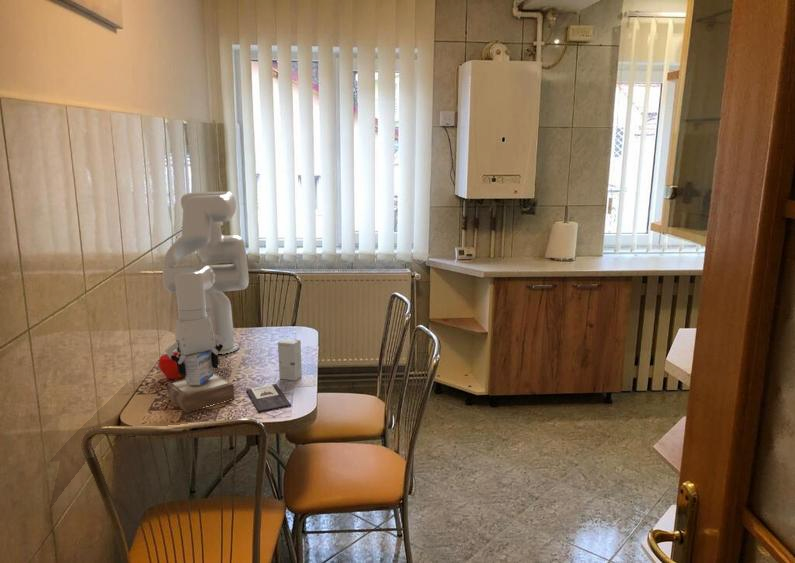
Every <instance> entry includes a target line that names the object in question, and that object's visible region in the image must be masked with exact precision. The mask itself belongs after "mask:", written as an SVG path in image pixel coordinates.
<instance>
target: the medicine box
mask: <svg viewBox="0 0 795 563" xmlns="http://www.w3.org/2000/svg"><path fill="white" fill-rule="evenodd" d="M183 362H184V364H185V371H186V376H185V377H184V378H185V379H186V384H187V385H201V384H203V383H204V382H205V381H207V380H208V379H209V378H211V377H212V376H213V372H214V368H213V367H212V359H211V350H209V351H205V352H201V353H196V354H192V355H187V356H186V357H185V359H184V361H183Z"/></svg>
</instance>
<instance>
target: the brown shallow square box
mask: <svg viewBox="0 0 795 563" xmlns="http://www.w3.org/2000/svg"><path fill="white" fill-rule="evenodd" d="M234 388H235V387H234V383H232V382H230V381H229V380H228V379H226V378H224V377H223V376H220V375H219V374H217V373H216V372H214V371H213V376H212V377H211V378H209V379H208V380H207V381H205V382H204V383H203V384H201V385H187V384H186V378H185V379H182V380H178V381H173V382H169V383H167V391H168V399H169V401H171V402H172V403H174V405H176V406H177V407H178V408H179V409H181V410H182V409H183V410H184V411H183V410H182V411H183V412H185V413H186V412H187V413H186V414H189V413H188V412H190V413H192V412H191V411H194V410H197V409H200V408H203V407H206V406H210V405H213V404H217V403H221V402H224V401H227V400H230V399H234V398H235V389H234ZM234 400H235V399H234ZM224 403H225V402H224ZM221 404H222V403H221ZM217 405H218V404H217ZM197 411H198V410H197ZM194 412H195V411H194Z"/></svg>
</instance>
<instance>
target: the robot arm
mask: <svg viewBox="0 0 795 563" xmlns="http://www.w3.org/2000/svg"><path fill="white" fill-rule="evenodd" d="M180 204H181V205H180V206H181V208H182V224H181V235H180V237H179V238H178V239H177V240H176V241H175V242H174V243H172V244H171V246H170V247H169V249H168V250H167V251H166V253H165V255H164V258H163V266H162V284H163V287H164V289H165V291H167V292H170V293H175V295H176V302H177V311H178V319H176V320H175V331H174V332H175V333H174V334H175V335H174V336H175V339H174V340H175V342H173V343H172V344H171V345H169V347H168V348H166V349H165V351H164V352H165V353H166V354H167V355H168V356H169V357H170V358H171V359H172V360H174V361H175V362H177V369H178V374H180V375H181V376H183V377H182V378H185V376H186V371H185V364H184V363H183V361H184V359H185V357H186V356H187V355H192V354H196V353H201V352H205V351H209V350H211V359H212V368H213V369H215V370H216V369H218V368H219V367H218V366H219V364H220V363H219V355H218V354H222V355H227V354H226V353H228V354H231V353H230V352H232V353H234V352H233V351H235V350H237V349H238V348H239V349H240V345H239V343H237V342H235V335H234V324H233V312H232V304H231V300H230V299H229V297H228V296H227V295H226V294H225V293H224V292H232V291H241V290H242V291H243V290H246V289H247V288H248V286H249V283H250V282H249V281H250V279H249V277H250V276H249V268H248V258H247V250H246V244H245V241H244V239H243V237H241V236H240V235H236V234H233V235H231V234H230V235H224V234H222V226H221V222H223V223H224V222H229V221H231V219H232V218H233V216H234V215H235V213H236V209H237V202H236V198H235V196H234V194H233V193H232V192H231V191H202V192H200V191H198V192H196V191H195V192H190V193H186V194H184V195H182V196H181V199H180ZM197 251H198V255H199V259H200V260H201V261H202V262H203V263H206V264H210V265H206V264H199V265H198V264H197V265H196V264H195V265H194V264H193V265H178V266H177V264H178V263H179V261H181V260H182V259H183V258H185V257H187V256H188V255H191V254H193V253H195V252H197ZM221 263H222V264H221ZM223 263H231V264H223ZM211 264H213V265H211ZM215 264H216V265H215ZM239 349H238V350H239ZM238 350H237V351H238ZM174 351H175V352H179V353H178V355H177V356H175V355H174V354H173V353H174ZM235 352H236V351H235ZM166 354H165V355H166Z"/></svg>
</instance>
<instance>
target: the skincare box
mask: <svg viewBox="0 0 795 563" xmlns="http://www.w3.org/2000/svg"><path fill="white" fill-rule="evenodd" d="M301 342H302V341H301V339H292V338H283V339H281V340H280V341H278V342H277V350H278V352H277V353H278V354H277V356H278V372H279V373H278V374H279V376H278V377H279V379H281V380H287V381H288V380H289V381H297V380H298V379H301V377H302V376H303V374H302V370H303V369H302V347H301V345H302V343H301Z"/></svg>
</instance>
